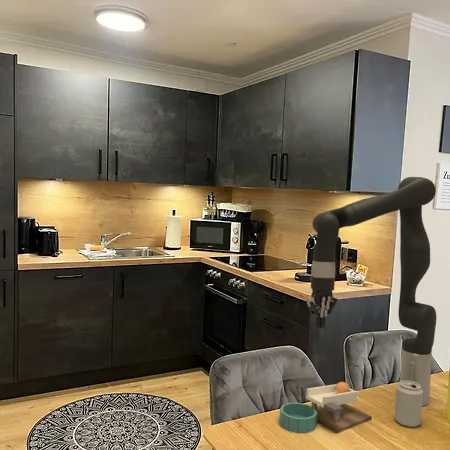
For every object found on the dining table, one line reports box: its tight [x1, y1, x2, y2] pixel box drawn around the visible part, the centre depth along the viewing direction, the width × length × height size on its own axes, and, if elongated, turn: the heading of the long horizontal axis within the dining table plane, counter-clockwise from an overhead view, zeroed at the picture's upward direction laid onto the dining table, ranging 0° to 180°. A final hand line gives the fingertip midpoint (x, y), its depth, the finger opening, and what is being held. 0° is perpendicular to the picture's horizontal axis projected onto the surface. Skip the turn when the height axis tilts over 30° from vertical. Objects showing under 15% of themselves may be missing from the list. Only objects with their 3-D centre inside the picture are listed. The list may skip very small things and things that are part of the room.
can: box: [394, 380, 423, 428], centre depth 139 cm, size 8×8×12 cm
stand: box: [310, 401, 373, 434], centre depth 141 cm, size 16×14×6 cm
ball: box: [336, 381, 350, 394], centre depth 144 cm, size 4×4×4 cm
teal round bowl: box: [278, 402, 318, 434], centre depth 136 cm, size 11×11×4 cm
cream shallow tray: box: [305, 383, 358, 413], centre depth 140 cm, size 15×11×3 cm
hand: (320, 327), depth 150 cm, fingers closed
